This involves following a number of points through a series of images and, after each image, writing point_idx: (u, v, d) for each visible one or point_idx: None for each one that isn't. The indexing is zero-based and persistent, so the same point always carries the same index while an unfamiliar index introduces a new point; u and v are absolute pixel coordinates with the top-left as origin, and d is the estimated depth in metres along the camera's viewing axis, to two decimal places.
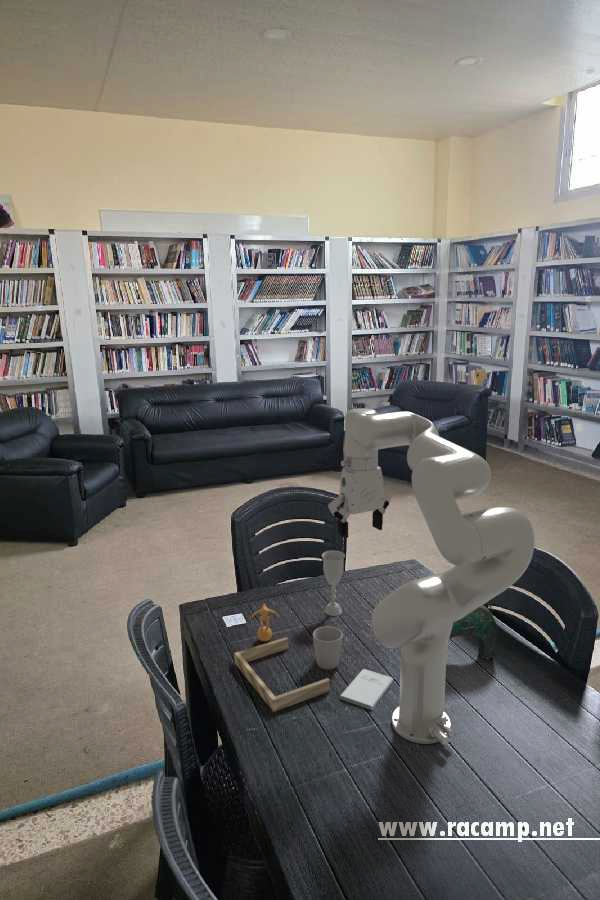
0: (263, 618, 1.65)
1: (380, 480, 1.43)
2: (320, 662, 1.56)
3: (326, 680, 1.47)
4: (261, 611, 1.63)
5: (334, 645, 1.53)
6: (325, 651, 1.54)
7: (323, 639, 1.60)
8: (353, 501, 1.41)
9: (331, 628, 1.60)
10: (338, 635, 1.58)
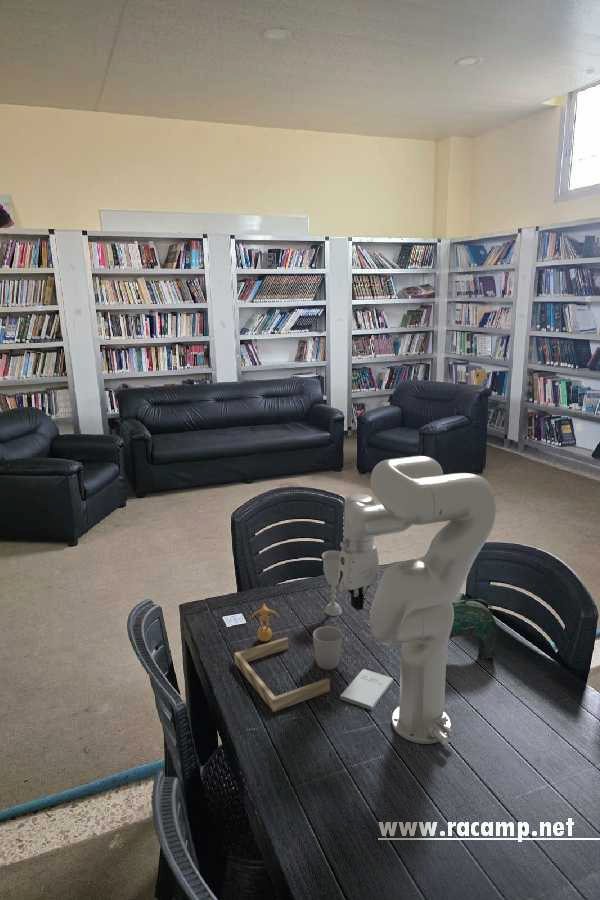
0: (263, 618, 1.65)
1: (375, 558, 1.57)
2: (320, 662, 1.56)
3: (326, 680, 1.47)
4: (261, 611, 1.63)
5: (334, 645, 1.53)
6: (325, 651, 1.54)
7: (323, 639, 1.60)
8: (351, 579, 1.55)
9: (331, 628, 1.60)
10: (338, 635, 1.58)
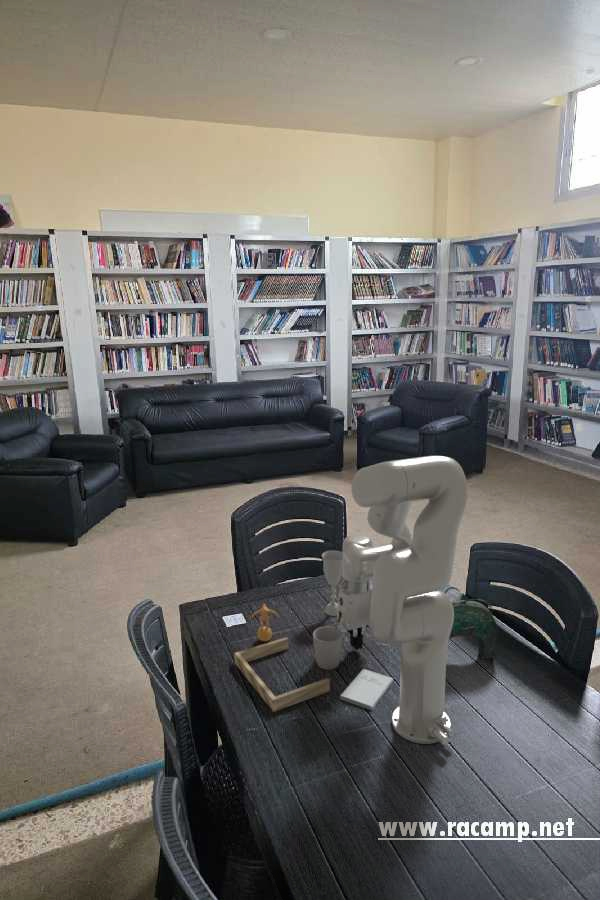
0: (263, 618, 1.65)
1: None
2: (320, 662, 1.56)
3: (326, 680, 1.47)
4: (261, 611, 1.63)
5: (334, 645, 1.53)
6: (325, 651, 1.54)
7: (323, 639, 1.60)
8: (349, 619, 1.57)
9: (331, 628, 1.60)
10: (338, 635, 1.58)
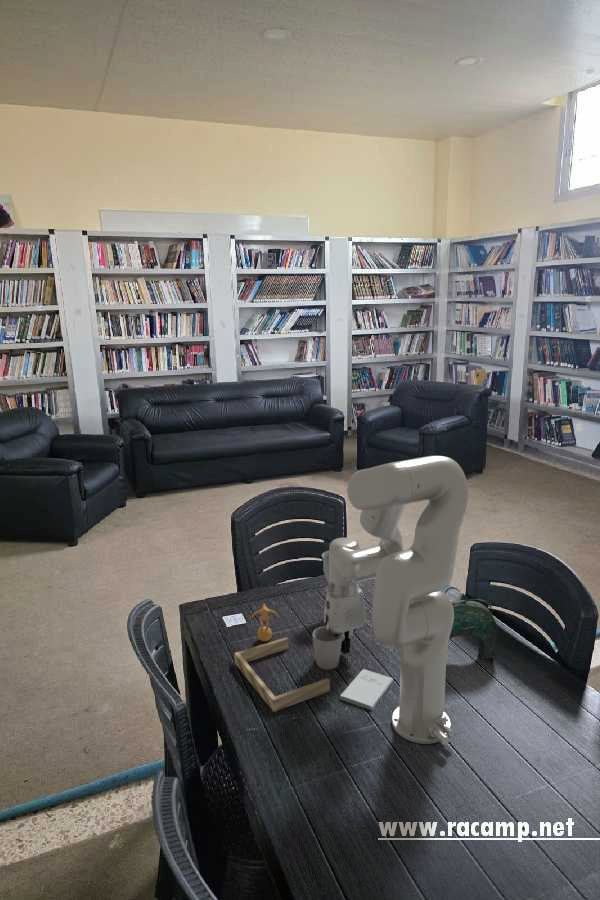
0: (263, 618, 1.65)
1: (361, 602, 1.58)
2: (320, 662, 1.56)
3: (326, 680, 1.47)
4: (261, 611, 1.63)
5: (334, 645, 1.53)
6: (325, 651, 1.54)
7: (323, 639, 1.60)
8: (336, 623, 1.55)
9: None
10: (338, 635, 1.58)
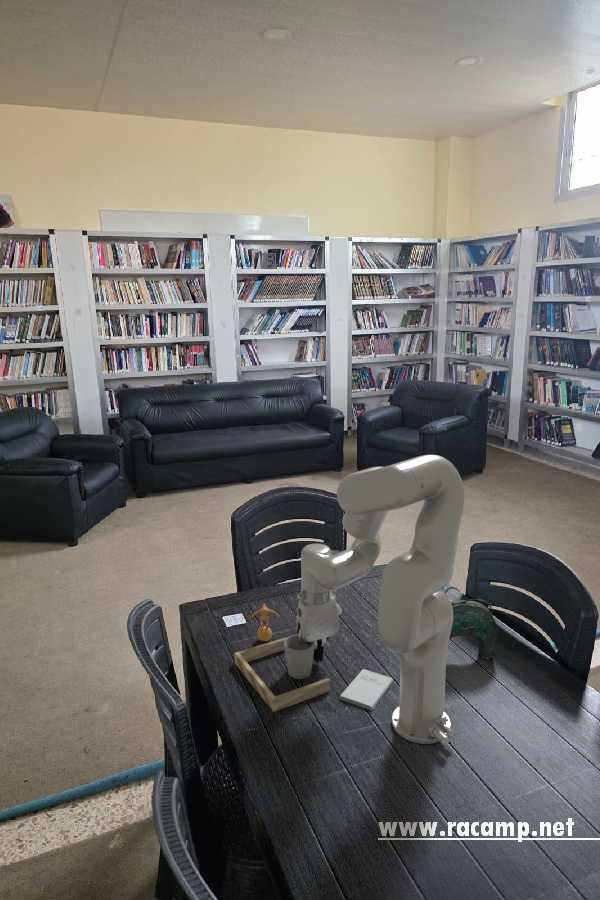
0: (263, 618, 1.65)
1: (334, 609, 1.54)
2: (291, 671, 1.52)
3: (326, 680, 1.47)
4: (261, 611, 1.63)
5: (305, 654, 1.50)
6: (296, 660, 1.50)
7: (295, 647, 1.56)
8: (308, 631, 1.51)
9: None
10: (310, 643, 1.54)
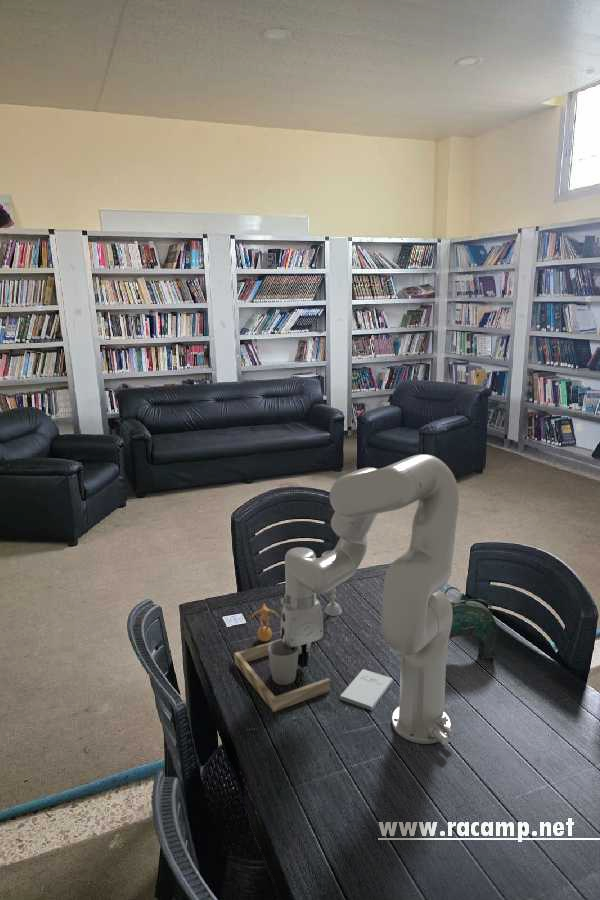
0: (263, 618, 1.65)
1: (318, 614, 1.52)
2: (275, 677, 1.50)
3: (326, 680, 1.47)
4: (261, 611, 1.63)
5: (289, 660, 1.48)
6: (280, 666, 1.48)
7: (280, 652, 1.54)
8: (292, 636, 1.49)
9: None
10: (295, 649, 1.52)
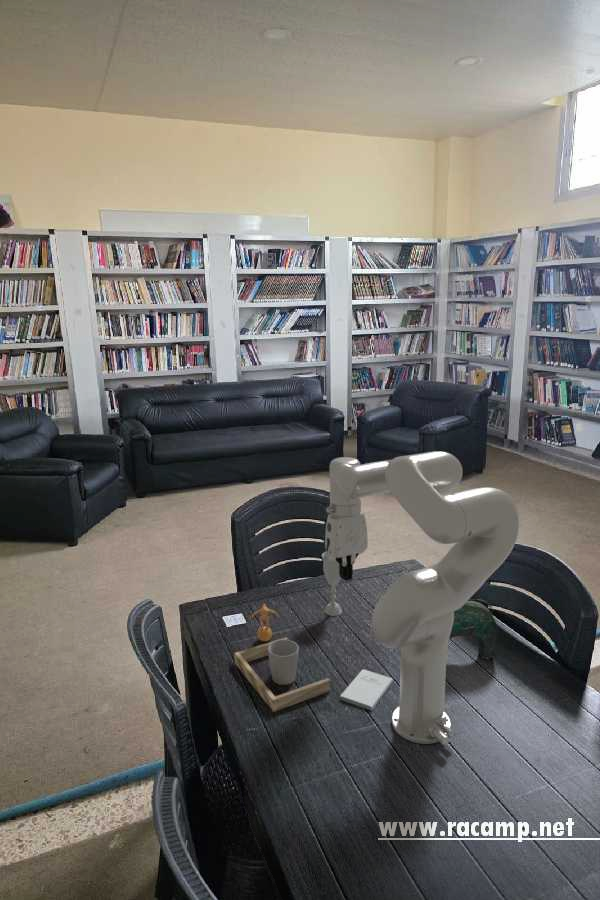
0: (263, 618, 1.65)
1: (363, 524, 1.51)
2: (275, 677, 1.50)
3: (326, 680, 1.47)
4: (261, 611, 1.63)
5: (289, 660, 1.48)
6: (280, 666, 1.48)
7: (280, 652, 1.54)
8: (338, 545, 1.49)
9: (288, 641, 1.54)
10: (295, 649, 1.52)
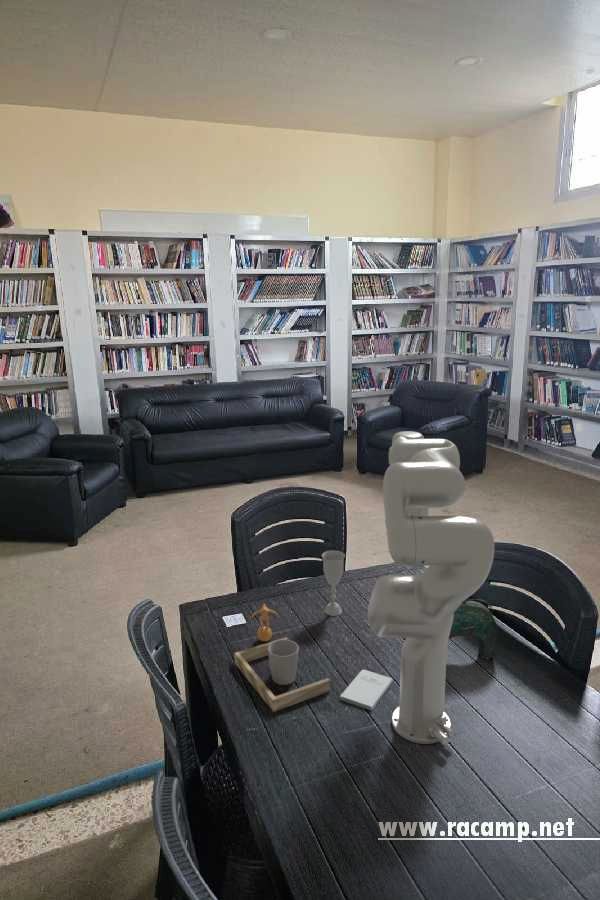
0: (263, 618, 1.65)
1: None
2: (275, 677, 1.50)
3: (326, 680, 1.47)
4: (261, 611, 1.63)
5: (289, 660, 1.48)
6: (280, 666, 1.48)
7: (280, 652, 1.54)
8: None
9: (288, 641, 1.54)
10: (295, 649, 1.52)
